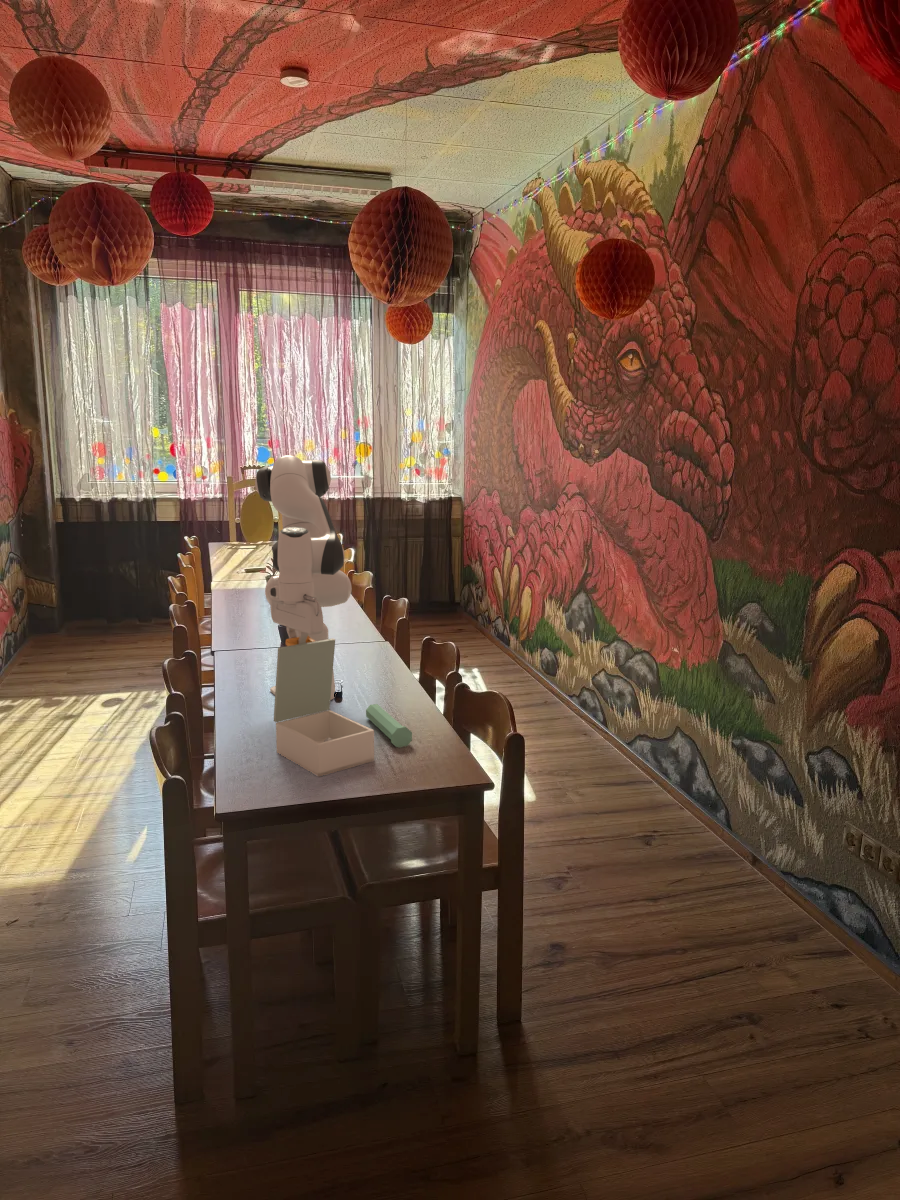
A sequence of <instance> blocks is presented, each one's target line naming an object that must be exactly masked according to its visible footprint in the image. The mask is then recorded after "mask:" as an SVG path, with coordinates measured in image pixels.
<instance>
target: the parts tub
mask: <svg viewBox="0 0 900 1200" xmlns="http://www.w3.org/2000/svg"><path fill="white" fill-rule="evenodd" d="M275 737H276V738H275V739H276V741H275V742H276V753H277V754H278V753H279V754H278V755H280V754H281V755H280V756H282V757H283V756H284V758H285V757H286V758H285V759H287V760H289V761H290V760H291V762H292V761H293V762H292V763H294V762H295V763H294V764H295V765H297V764H298V766H299V765H300V766H299V767H301V768H302V767H303V769H304V770H306V771H308V772H309V771H310V772H309V773H311V772H312V774H313V775H314V776H316V775H317V776H316V777H318V778H321V777H323V775H324V776H327V775H330V773H331V774H334V773H338V772H341V771H345V770H348V769H351V768H354V767H358V766H361V765H364V764H369V763H372V762H374V761H375V730H374V729H372V728H370V727H367V726H366V725H363V724H362V723H359V722H357V721H355V720H353V719H350V718H349V717H346V716H344V715H341V714H339V713H337V712H335V711H333V710H331V709H329V710H326V711H322V712H318V713H313V714H309V715H305V716H301V717H296V718H292V719H288V720H284V721H279V722H275ZM337 771H338V772H337ZM320 776H321V777H320Z"/></svg>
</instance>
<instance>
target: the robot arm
mask: <svg viewBox="0 0 900 1200" xmlns="http://www.w3.org/2000/svg"><path fill="white" fill-rule="evenodd" d="M331 478H332V477H331V471H330V469H329V467H328V465H327V464H326V462H325V461H323V460H320V459H311V460H302V459H300V458H299V457H297V456H295V455H289V454H287V455H281V456H280V457H279V458H277V459H276V460H275V461H274V463H273V464H272V465H270V466H269V465H266V466H263V467H260V468H259V469H258V471H257V472H256V475H255V478H254V479H255V480H254V486H255V489H256V492H257V493H258V495H259V498H261V499H262V500H263V501H264V502H271V503H272V506H273V507H274V509H275V510H276V511H277V512H278V513H280V514H281V516H282V517H281V519H282V521H281V522H282V523H281V524H282V528H281V530H280V531H279V534H278V540H277V541H276V542H274V544H273V545H272V546H271V552H272V566H271V567H273V569H274V570H276V571H277V572H278V573H279V574H277V575H272V576H271V577H270V578H269V579H268V581H267V582H266V584H265V589H264V593H265V599H266V601H267V602H268V604H269V605H270V616H271V620H272V621H273V623H275V624H277V625H280V626H285V627H286V632H287V635H288V639H289V638H295V637H299V640H297V644H303V643H306V639H307V637H308V636H309V637H310V638H312V639H313V640H315V641H320V640H326V639H330V638H329V628H328V625H326V623H325V622H324V616H323V614H324V613H323V609H322V608H328V607H329V608H330V607H335V606H338V605H341V604H345V603H347V601H348V600H349V598H350V597H351V595H352V590H353V589H352V587H353V586H352V582H351V579H350V578H349V576H348V575H347V574H346V573H345V572H343V570H341V569H342V568H343V567H344V563H345V550H344V547H343V544H342V542H341V540H340V538H339V536H338V535H337V531H336V529H335V526H334V523H333V521H332V517H331V515H330V512H329V509H328V507H327V505H326V503H325V501H324V499H323V498H322V497H323V496H325V495H326V494H327V493H328V491H329V489H330V484H331V482H332V481H331V480H332V479H331ZM334 674H335V673H334V671H333V674H332V685H331V697H330V701H332V700H333V699H335V697H334V692H335V688H336V683H335V675H334ZM269 689H270V690H269V691H270V693H272V694H273V695H274V696H275V689H276V685H274V686H272V687H270V688H269Z"/></svg>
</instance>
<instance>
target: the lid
mask: <svg viewBox="0 0 900 1200" xmlns="http://www.w3.org/2000/svg"><path fill="white" fill-rule="evenodd" d="M297 640H299V637H295V638H289V637H288V638H286V639H285V646H281V647H278V648H277V660H276V676H275V686H276V689H275V695H274V704H273V705H274V708H273V709H274V710H273V722H274V723H277V722H281V721H285V720H290V719H294V718H298V717H302V716H307V715H311V714H315V713H319V712H323V711H328V710H331V709H330V708H331V700H330V697H331V685H332V674H333V672H334V660H335V649H336V648H335V647H336V639H335V638H334V637H333V638H329V639H326V640H320V641H315V640H313V639H312V638H310V637H309V636H308V637H307V639H306V643H303V644H297Z"/></svg>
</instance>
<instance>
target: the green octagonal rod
mask: <svg viewBox="0 0 900 1200" xmlns="http://www.w3.org/2000/svg"><path fill="white" fill-rule="evenodd" d="M365 717H366V718H367V719H368V720H369V721H370V722H371V723H372V724H374V726H376V728H378V729H379V730H380V731H381V732H382V733H383V734H384V735H385V736H386V737H388V739H390V743H391V744H392V745H394V746H395V747H396V748H397V747H398V748H403V746H405V747H408V746H409V745H410V744H411V742H412V741H413V732H412V731H411V730H410V729H409V728H408V727H407V726H405V725H404V726H403V725H402V724H401V723H400V722H399V721H397V720H396V719H395V718H394V717H393V716H392V715H391V714H390V713H388V712H387V711H386V710H385V709H384V708H382V707H381V706H380V705H378V704H377V703H373V704H370V705H369V706H367V708H366V709H365Z"/></svg>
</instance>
